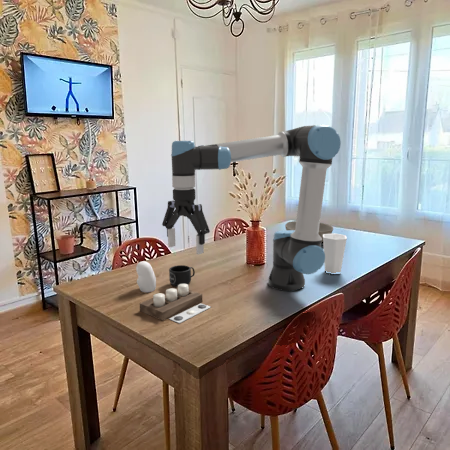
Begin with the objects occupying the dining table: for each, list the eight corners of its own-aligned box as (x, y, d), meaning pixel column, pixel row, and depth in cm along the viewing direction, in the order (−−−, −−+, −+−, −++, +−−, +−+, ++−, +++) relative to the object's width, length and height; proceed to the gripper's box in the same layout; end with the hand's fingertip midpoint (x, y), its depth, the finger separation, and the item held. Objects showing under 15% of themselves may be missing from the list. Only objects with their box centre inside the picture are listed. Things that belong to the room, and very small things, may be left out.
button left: (167, 305, 139) (167, 295, 138) (159, 309, 136) (158, 298, 135) (159, 302, 141) (159, 292, 141) (151, 306, 138) (150, 295, 138)
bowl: (280, 236, 244) (280, 220, 242) (322, 235, 247) (323, 219, 245) (292, 248, 217) (292, 231, 215) (339, 246, 220) (340, 229, 218)
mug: (177, 290, 159) (177, 273, 157) (165, 284, 166) (164, 268, 164) (201, 283, 167) (200, 267, 165) (188, 277, 173) (188, 262, 172)
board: (202, 301, 148) (202, 294, 147) (162, 320, 132) (162, 312, 132) (179, 293, 155) (179, 286, 154) (139, 311, 140) (139, 303, 139)
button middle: (179, 300, 144) (179, 290, 143) (171, 303, 140) (171, 293, 140) (172, 297, 146) (171, 287, 145) (164, 301, 143) (163, 290, 142)
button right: (190, 295, 148) (190, 285, 147) (183, 298, 145) (183, 288, 144) (183, 292, 151) (183, 282, 150) (175, 295, 148) (175, 285, 147)
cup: (349, 272, 179) (351, 236, 175) (338, 278, 171) (340, 240, 168) (326, 267, 186) (328, 232, 182) (315, 272, 179) (317, 236, 175)
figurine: (138, 286, 163) (137, 259, 160) (157, 286, 164) (155, 258, 161) (136, 293, 156) (134, 264, 153) (155, 292, 157) (154, 264, 154)
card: (211, 307, 142) (210, 306, 142) (179, 323, 130) (179, 322, 130) (200, 304, 146) (200, 302, 145) (169, 319, 133) (169, 318, 133)
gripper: (220, 190, 125) (220, 254, 129) (166, 184, 140) (168, 241, 145) (204, 192, 119) (205, 259, 124) (150, 186, 134) (153, 246, 139)
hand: (185, 250), depth 134 cm, fingers open, 13 cm apart
